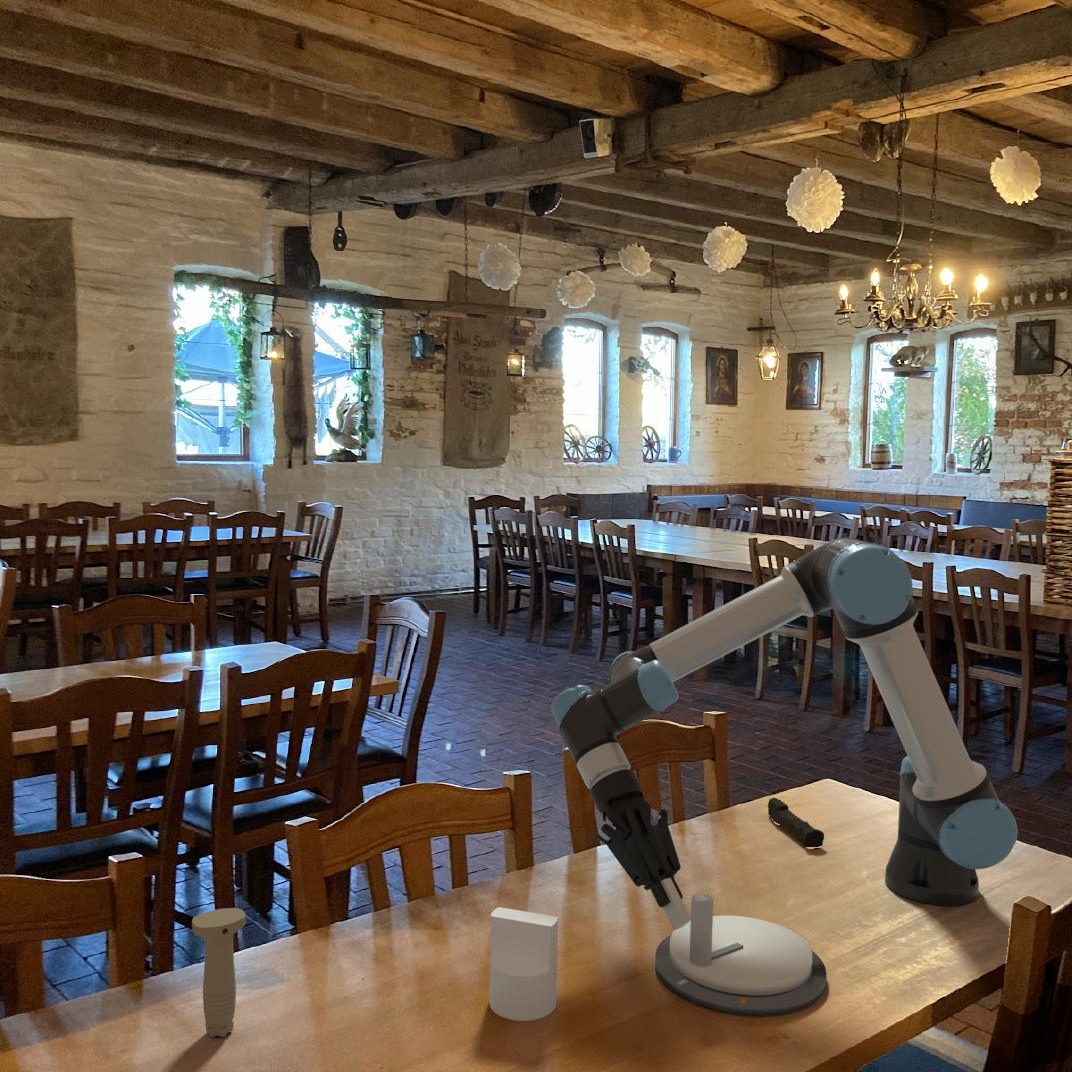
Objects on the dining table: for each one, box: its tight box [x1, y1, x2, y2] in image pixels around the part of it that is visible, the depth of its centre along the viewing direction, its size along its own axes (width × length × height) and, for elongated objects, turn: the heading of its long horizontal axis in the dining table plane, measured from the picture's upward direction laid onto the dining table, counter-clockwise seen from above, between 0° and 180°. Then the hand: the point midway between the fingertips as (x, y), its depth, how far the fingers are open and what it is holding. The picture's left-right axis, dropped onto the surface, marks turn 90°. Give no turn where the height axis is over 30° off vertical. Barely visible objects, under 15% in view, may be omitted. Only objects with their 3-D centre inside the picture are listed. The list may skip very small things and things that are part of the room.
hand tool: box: [767, 797, 825, 848], centre depth 209 cm, size 19×4×5 cm, turn 12°
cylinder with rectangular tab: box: [489, 906, 559, 1022], centre depth 142 cm, size 9×9×12 cm
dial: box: [670, 893, 813, 996], centre depth 152 cm, size 20×20×11 cm
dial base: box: [654, 933, 827, 1017], centre depth 152 cm, size 24×24×2 cm
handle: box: [191, 907, 247, 1038], centre depth 134 cm, size 5×6×15 cm
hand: (682, 924), depth 151 cm, fingers closed
